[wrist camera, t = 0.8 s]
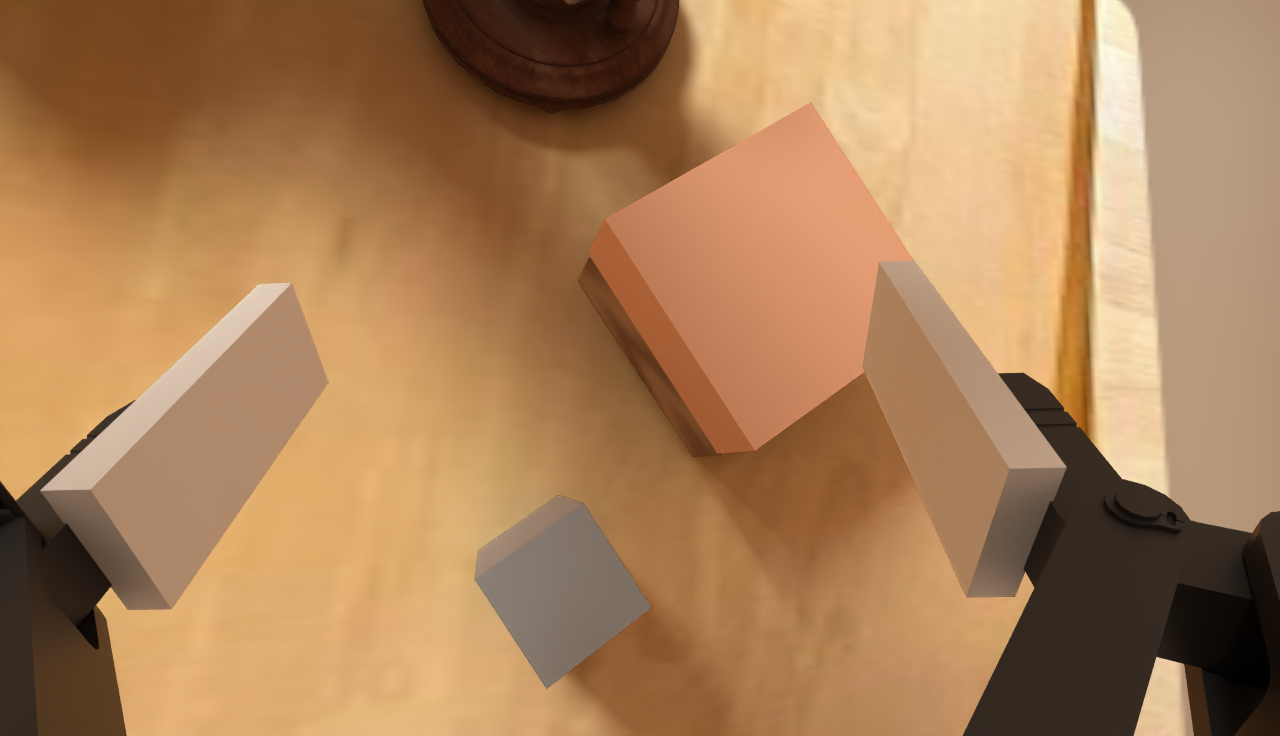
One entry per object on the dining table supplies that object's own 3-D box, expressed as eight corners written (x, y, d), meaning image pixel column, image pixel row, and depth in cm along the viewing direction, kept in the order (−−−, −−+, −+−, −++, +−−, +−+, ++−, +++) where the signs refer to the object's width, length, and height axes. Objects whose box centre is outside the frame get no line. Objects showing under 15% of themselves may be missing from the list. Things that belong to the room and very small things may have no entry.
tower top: (588, 254, 35) (604, 218, 30) (769, 149, 38) (810, 102, 33) (717, 453, 34) (754, 450, 30) (888, 332, 38) (947, 312, 33)
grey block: (477, 550, 36) (474, 579, 26) (558, 495, 37) (583, 502, 27) (530, 630, 36) (546, 688, 26) (608, 572, 37) (651, 607, 27)
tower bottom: (577, 282, 39) (589, 256, 35) (737, 187, 43) (769, 150, 38) (691, 456, 39) (720, 454, 34) (843, 348, 42) (889, 332, 38)
